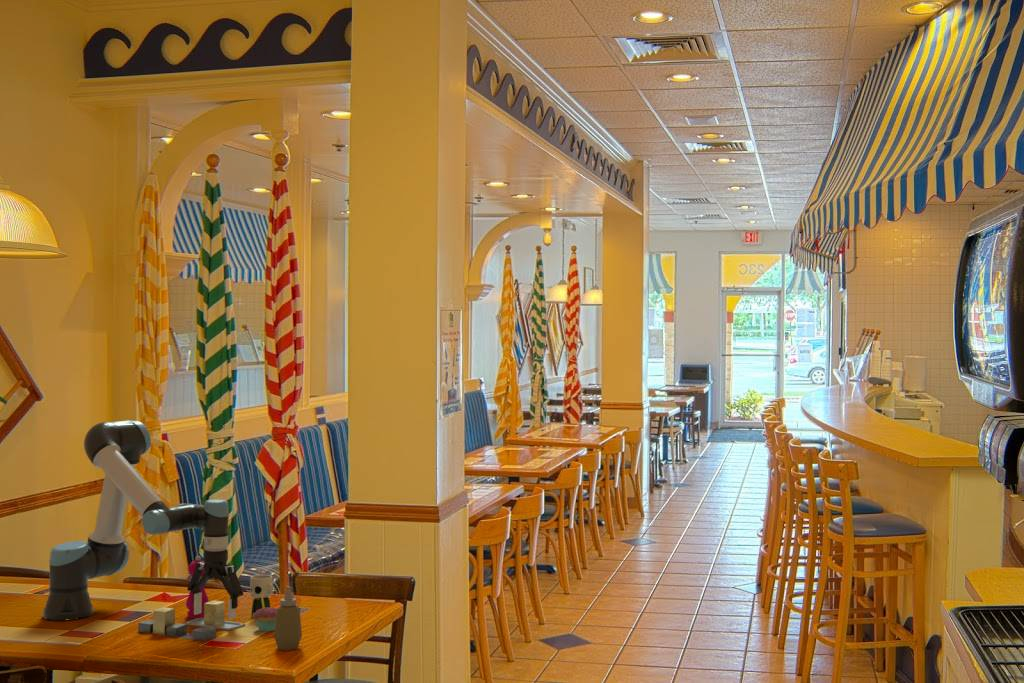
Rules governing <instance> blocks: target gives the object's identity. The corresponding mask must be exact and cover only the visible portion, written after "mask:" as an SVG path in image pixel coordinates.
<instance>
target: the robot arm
mask: <svg viewBox="0 0 1024 683" xmlns="http://www.w3.org/2000/svg"><path fill="white" fill-rule="evenodd" d="M151 440H152V438H151V434H150V432H149V429H148V428H147V426H146V425H145V424H144V423H142V422H141V421H139V420H138V421H137V420H120V421H103V422H99V423H96V424H95V425H93V426H92V427H90V428H89V429H88V430H87V432H86V434H85V437H84V441H83V448H84V451H85V455H86V456H87V458H88V460H89V461H90V463H91V464H93V466H94V467H96V468H97V469H101V470H102V471H103V472H104V478H103V483H102V489H101V493H100V499H99V500H100V501H99V506H98V511H97V516H96V519H95V527H94V530H93V531H91V533H89V534H88V537H87V541H84V540H73V541H66V542H63V543H60V544H57V545H55V546H53V547H52V549H51V550H50V554H49V561H48V563H49V589H48V590H49V591H48V593H49V594H48V596H47V600H46V603H45V607H44V608H43V611H42V617H44V618H46V619H45V620H47V619H53V620H52V621H55V620H64V621H67V620H66V619H75V620H77V619H76V618H81V617H85V618H87V617H86V616H88V617H90V616H89V615H91V614H92V613H93V614H94V605H93V604H92V600H91V597H90V594H89V590H88V589H89V585H88V584H89V581H88V580H92V579H95V578H100V577H101V578H103V577H108V576H113V574H117V573H120V572H121V571H123V569H124V568H125V567H126V566H127V564H128V561H129V559H130V549H128V548H129V546H128V544H127V542H126V541H125V537H124V535H123V534H122V531H123V530H122V529H123V525H124V519H125V514H126V509H127V504H128V501H129V503H130V504H131V505H132V506H133V508H135V510H136V511H137V512H138V513H139V514H140V515H141V516H142V518H141V526H142V528H143V530H144V532H145V533H146V534H148V535H154V536H155V535H164V534H166V533H172V532H178V531H184V530H189V529H198V530H199V529H200V530H203V549H204V550H203V551H202V553H203V554H202V555H203V558H202V559H203V560H202V561H204V562H205V563H204V562H199V563H196V568H195V572H194V574H193V576H192V579H191V580H189V581H190V582H189V584H188V586H187V591H188V592H190V591H191V592H192V593H193V603H194V615H197V614H200V613H201V611H202V593H201V592H200V590H201V589H202V587H203V586H204V587H205V585H206V583H207V582H208V581H209V579H210V580H211V579H214V580H218V581H219V582H220V583H221V584H222V585H223V587H224V589H225V590H226V591H227V594H228V595H229V598H228V601H227V602H228V607H227V608H228V610H227V612H228V613H227V614H228V615H227V618H228V620H234V619H236V616H237V615H236V614H237V612H236V611H237V608H238V606H239V605H238V604H239V602H238V600H239V599H238V598H239V597H242V596H244V592H243V591H244V590H243V589H242V586H241V582H240V581H239V578H238V575H237V573H236V572H237V571H236V566H235V565H229V566H228V564H227V563H228V560H229V550H228V548H229V518H230V517H229V516H230V512H229V511H230V510H229V502H228V500H225V499H217V498H215V499H208V500H205V502H204V503H203V504H195V503H191V502H188V503H187V502H186V503H183V502H182V503H179V504H178V505H176V506H172V507H169V506H167V504H166V503H165V502H164V501H163V500H162V499H161V497H160V496H159V495H158V494H157V493H156V492H155V491H154V490H153V488H152V487H151V486H150V485H149V484H148V483H147V482H146V480H145V479H144V478H143V477H142V476H141V474H140V473H139V472H138V471H137V470H136V469H135V467H136V466H137V465H139V464H140V461H141V456H142V455H144V454H146V453H147V452H148V451H149V449H150V448H151V444H152V443H151V442H152V441H151ZM203 569H204V570H205V573H204V574H203V575H202V578H201V579H200V576H201V574H202V572H203ZM199 579H200V580H199ZM198 581H199V582H198ZM199 592H200V593H199ZM93 614H92V615H93ZM92 615H91V616H92ZM44 618H43V619H44ZM81 619H82V618H81Z"/></svg>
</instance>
